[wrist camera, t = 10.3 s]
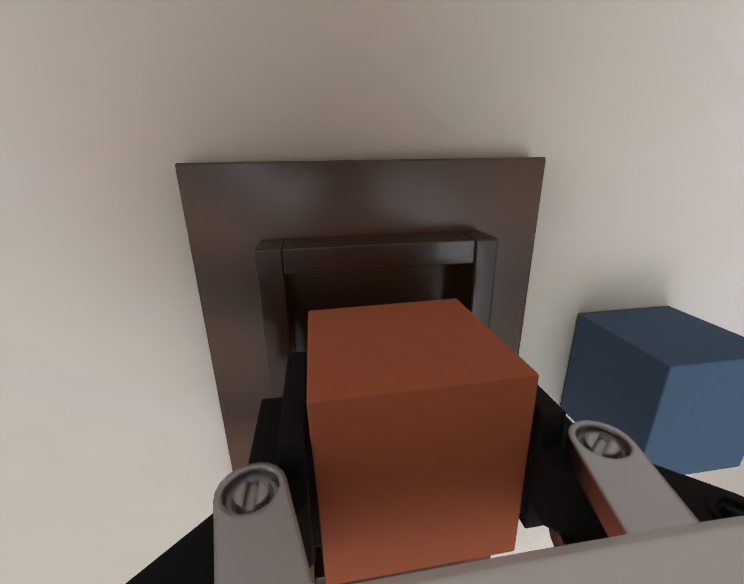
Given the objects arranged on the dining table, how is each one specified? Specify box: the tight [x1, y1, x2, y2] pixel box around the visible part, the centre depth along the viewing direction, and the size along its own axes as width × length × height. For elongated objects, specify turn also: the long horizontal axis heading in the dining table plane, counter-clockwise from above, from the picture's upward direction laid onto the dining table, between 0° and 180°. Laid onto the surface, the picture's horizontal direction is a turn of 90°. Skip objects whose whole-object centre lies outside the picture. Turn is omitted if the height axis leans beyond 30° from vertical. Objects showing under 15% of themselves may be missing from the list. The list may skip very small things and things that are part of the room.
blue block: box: [561, 306, 744, 475], centre depth 15 cm, size 5×5×4 cm
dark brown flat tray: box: [175, 157, 545, 584], centre depth 15 cm, size 20×12×2 cm, turn 2°
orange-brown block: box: [307, 298, 539, 584], centre depth 10 cm, size 5×5×4 cm
